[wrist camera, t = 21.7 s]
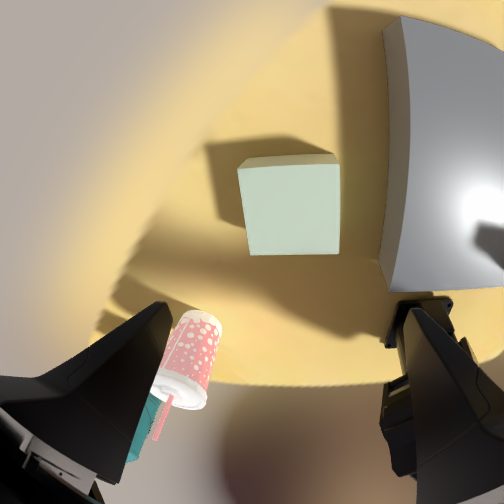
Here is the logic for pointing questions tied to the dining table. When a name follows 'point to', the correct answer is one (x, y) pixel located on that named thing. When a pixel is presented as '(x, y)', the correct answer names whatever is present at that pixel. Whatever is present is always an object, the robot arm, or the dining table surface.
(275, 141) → the dining table surface
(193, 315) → the beverage cup
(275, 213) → the rectangular block
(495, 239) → the box
